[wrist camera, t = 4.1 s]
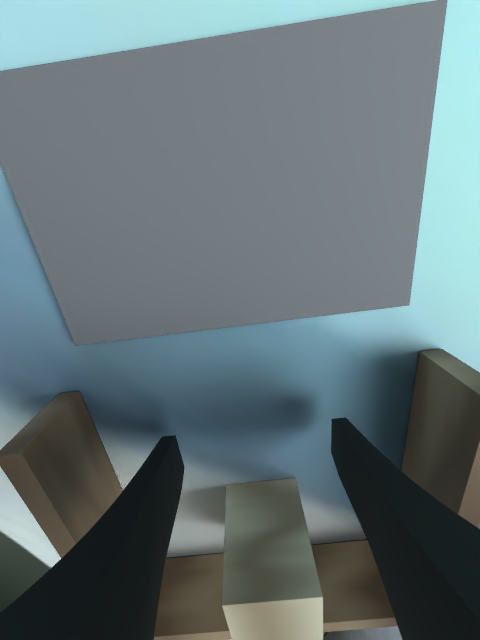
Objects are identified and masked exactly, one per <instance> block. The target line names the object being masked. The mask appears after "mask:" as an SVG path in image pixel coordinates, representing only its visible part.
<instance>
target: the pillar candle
mask: <svg viewBox="0 0 480 640" xmlns="http://www.w3.org/2000/svg"><path fill="white" fill-rule="evenodd" d="M323 640H402V637H401V634H400V631H399V628H398V626H394V627H381V628H369V629H356V630H344V631H331V632H328V633H327V634H326V635H325V636H324V637H323Z"/></svg>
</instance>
